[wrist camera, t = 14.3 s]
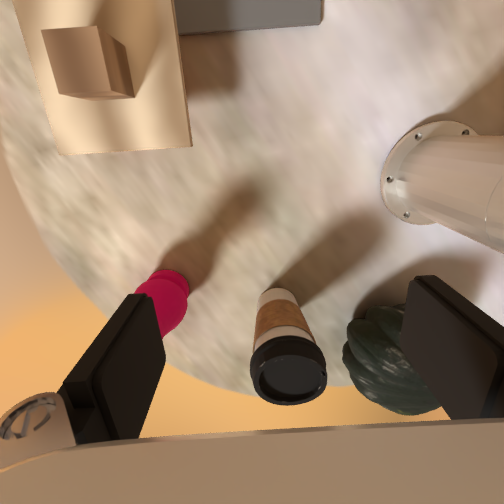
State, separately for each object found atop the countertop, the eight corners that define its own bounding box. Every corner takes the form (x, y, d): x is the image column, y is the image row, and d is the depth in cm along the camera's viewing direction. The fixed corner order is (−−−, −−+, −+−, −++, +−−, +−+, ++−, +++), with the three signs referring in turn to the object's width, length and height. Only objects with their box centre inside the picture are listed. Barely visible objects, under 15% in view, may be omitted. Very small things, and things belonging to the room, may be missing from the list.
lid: (171, -18, 24) (147, -66, 18) (192, 146, 29) (179, 149, 23) (18, -7, 24) (-53, -51, 18) (66, 154, 29) (22, 159, 23)
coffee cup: (311, 316, 44) (340, 399, 31) (261, 333, 46) (267, 421, 32) (293, 272, 41) (317, 341, 28) (240, 291, 42) (237, 368, 29)
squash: (331, 402, 44) (443, 469, 33) (319, 321, 39) (446, 369, 28) (375, 349, 52) (476, 389, 41) (369, 277, 47) (484, 300, 36)
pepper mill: (138, 268, 41) (47, 380, 22) (187, 263, 41) (137, 371, 22) (150, 310, 44) (78, 441, 25) (196, 306, 43) (158, 434, 25)
